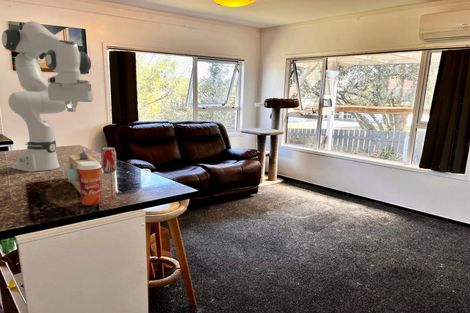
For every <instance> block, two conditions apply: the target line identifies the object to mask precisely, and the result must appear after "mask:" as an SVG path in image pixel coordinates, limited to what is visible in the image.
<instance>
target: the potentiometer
mask: <svg viewBox="0 0 470 313" xmlns="http://www.w3.org/2000/svg"><path fill="white" fill-rule="evenodd" d="M88 154H89V153H88V152H86V148H82V152H79V155H80V160H87V159H88Z"/></svg>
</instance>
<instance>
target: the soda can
mask: <svg viewBox="0 0 470 313" xmlns="http://www.w3.org/2000/svg"><path fill="white" fill-rule="evenodd" d="M100 154H101V155H100V156H101V166H102V167H101V169H103V171H104V173H114V172H115V171H116V170H117V152H116V150H115V147H111V146H107V147H103V148H102V149H101V152H100ZM113 171H114V172H113Z"/></svg>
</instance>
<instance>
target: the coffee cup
mask: <svg viewBox="0 0 470 313" xmlns="http://www.w3.org/2000/svg"><path fill="white" fill-rule="evenodd" d="M99 162H100V161H99ZM99 162H95V161H87V162H81V163H78V166H77V169H78V174H79V183H80V191H81V193H80V197H81V198H80V199H81V204H82V205H83V206H96V205H99V203H100V201H101V192H100V168H101V169H102V163H101V162H100V163H101V164H100V163H99Z"/></svg>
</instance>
